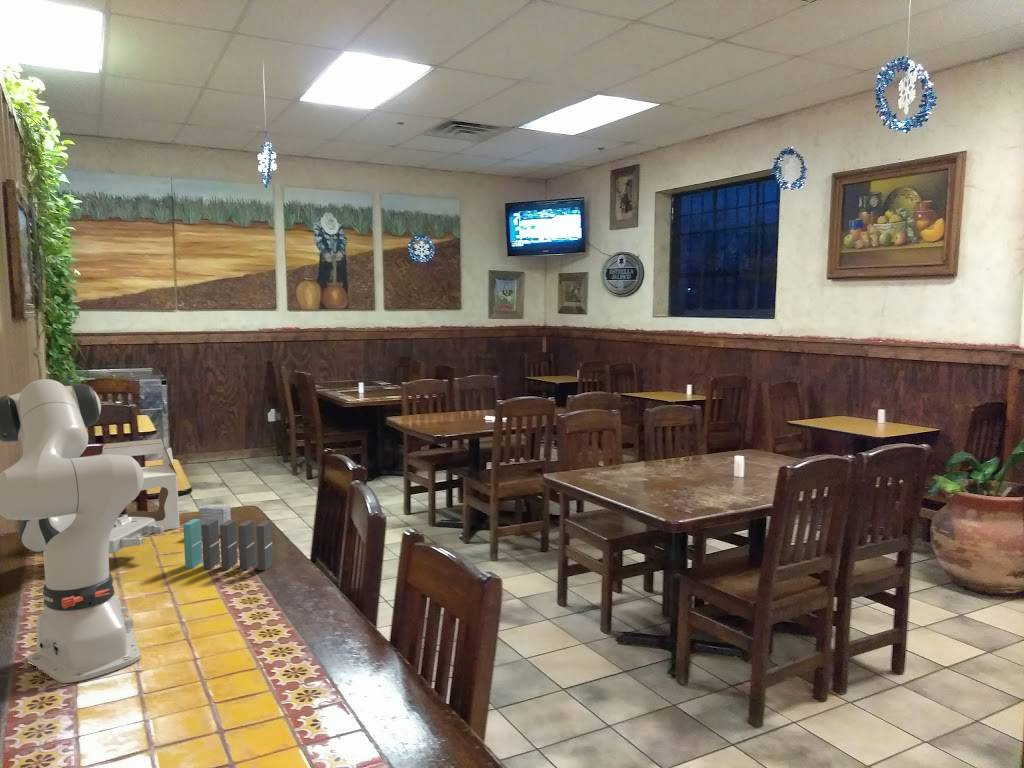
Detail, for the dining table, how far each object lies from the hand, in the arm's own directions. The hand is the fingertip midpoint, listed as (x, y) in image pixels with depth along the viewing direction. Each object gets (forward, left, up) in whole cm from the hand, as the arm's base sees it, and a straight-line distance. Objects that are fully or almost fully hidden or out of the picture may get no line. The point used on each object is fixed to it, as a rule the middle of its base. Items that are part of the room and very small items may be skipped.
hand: (152, 535), depth 193 cm
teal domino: (-9, -7, -8) cm, 14 cm away
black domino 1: (-13, -11, -8) cm, 18 cm away
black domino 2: (-17, -14, -8) cm, 23 cm away
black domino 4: (-24, -20, -8) cm, 32 cm away
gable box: (+37, -8, -8) cm, 38 cm away
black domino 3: (-20, -17, -8) cm, 28 cm away
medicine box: (+14, -23, -8) cm, 28 cm away
